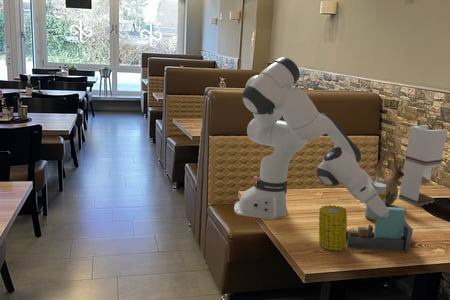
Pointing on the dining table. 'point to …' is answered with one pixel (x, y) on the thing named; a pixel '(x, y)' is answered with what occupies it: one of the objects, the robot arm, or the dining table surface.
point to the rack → (383, 241)
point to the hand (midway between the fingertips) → (385, 213)
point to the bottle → (381, 192)
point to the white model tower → (421, 162)
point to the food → (332, 227)
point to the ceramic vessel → (388, 179)
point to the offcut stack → (361, 232)
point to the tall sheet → (390, 224)
